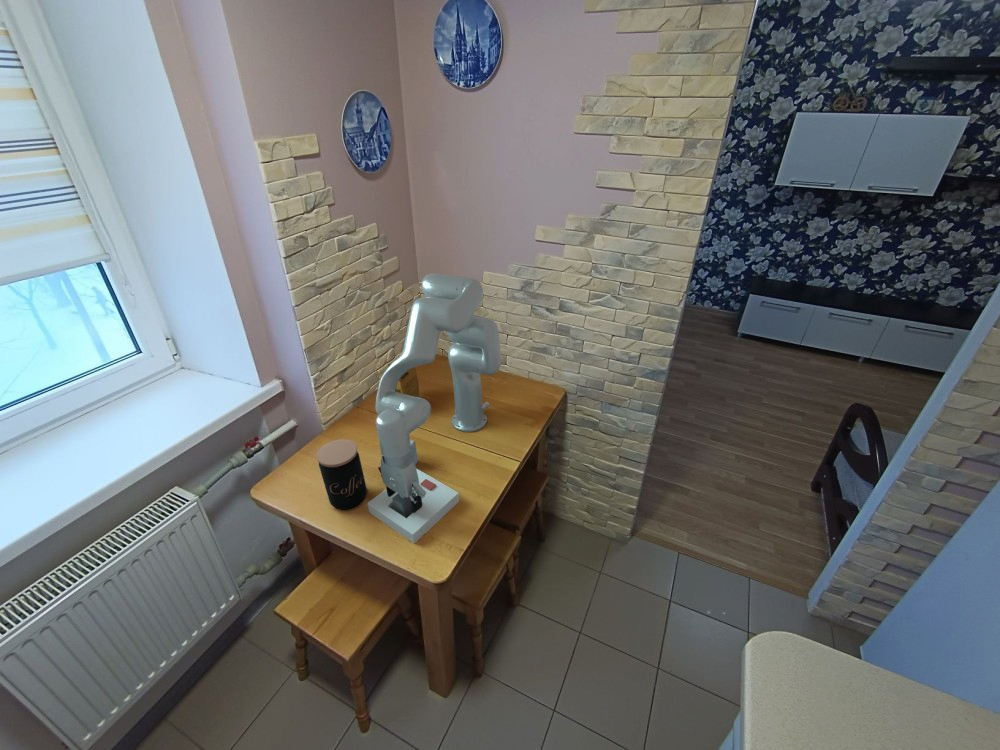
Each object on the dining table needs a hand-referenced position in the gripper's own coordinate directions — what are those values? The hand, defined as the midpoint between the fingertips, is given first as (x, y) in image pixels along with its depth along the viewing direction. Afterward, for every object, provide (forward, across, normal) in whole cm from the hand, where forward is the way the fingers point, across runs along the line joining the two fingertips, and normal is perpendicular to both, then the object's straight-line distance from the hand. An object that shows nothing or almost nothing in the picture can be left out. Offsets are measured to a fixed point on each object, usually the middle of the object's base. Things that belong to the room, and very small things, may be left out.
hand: (405, 501), depth 126 cm
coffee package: (+5, -38, +35) cm, 52 cm away
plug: (+5, 0, 0) cm, 5 cm away
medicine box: (+5, -16, +14) cm, 22 cm away
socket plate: (+5, 0, +3) cm, 6 cm away
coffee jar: (+5, -18, -6) cm, 20 cm away
